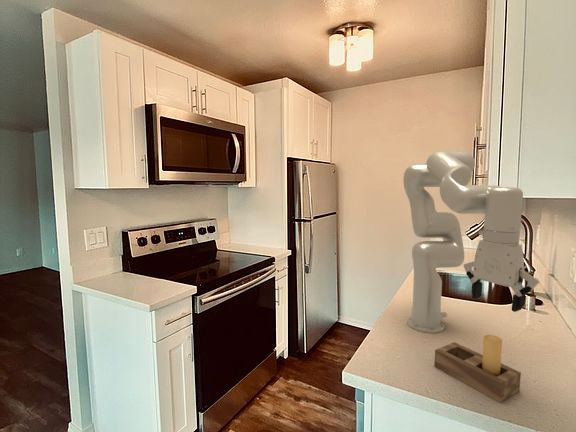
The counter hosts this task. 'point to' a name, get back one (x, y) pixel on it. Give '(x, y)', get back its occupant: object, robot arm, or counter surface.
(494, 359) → the peg
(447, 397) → the counter surface
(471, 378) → the socket block
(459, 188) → the robot arm
